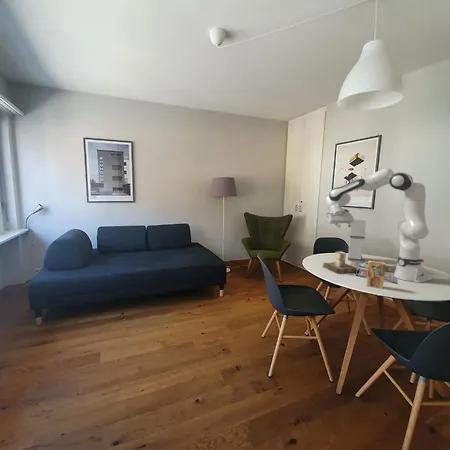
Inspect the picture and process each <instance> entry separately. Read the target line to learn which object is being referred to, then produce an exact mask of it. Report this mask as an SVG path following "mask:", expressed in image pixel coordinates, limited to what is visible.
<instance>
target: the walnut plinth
mask: <svg viewBox="0 0 450 450" xmlns="http://www.w3.org/2000/svg"><path fill="white" fill-rule="evenodd" d="M322 265H323V266H322V267H323V268H325V269H327V270H329V271H331V272H333V273H335V274H348V273H349V274H350V273H357V267H356V266H353V265H350V264H347V263H345V266H342V267H338V266H336V265H335V261H334V262H323V264H322Z"/></svg>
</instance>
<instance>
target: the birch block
mask: <svg viewBox="0 0 450 450" xmlns="http://www.w3.org/2000/svg"><path fill="white" fill-rule="evenodd" d="M334 253H335V254H334V262H335V265H336V266H338V267H342V266H345V264H346V255H347V254H346V252H343V251H335V252H334Z"/></svg>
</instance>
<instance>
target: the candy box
mask: <svg viewBox="0 0 450 450" xmlns="http://www.w3.org/2000/svg"><path fill="white" fill-rule="evenodd" d="M367 263H368V264H367V274H366V286H367V287H373V288H377V289H378V288H379V289H383V288H384V281H385V273H386V271H385V270H386V263H385V262H382V261H381V262H380V261H376V260H375V261H374V260H368V262H367Z"/></svg>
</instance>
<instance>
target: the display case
mask: <svg viewBox="0 0 450 450" xmlns="http://www.w3.org/2000/svg"><path fill="white" fill-rule="evenodd" d="M366 225H367V219H366V218H363V219H356V218H354V221H353V222H352V223H351V226H352V227H349V228H350V231H349V242H348V244H349V245H348V255H347V259H348V260H347V261H348V262H349V261H352V262H358V263H359V262H360V263H363V261H364V259H363V256H362V251H363V243H364V242H365V238H366V237H365V235H366Z"/></svg>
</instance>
